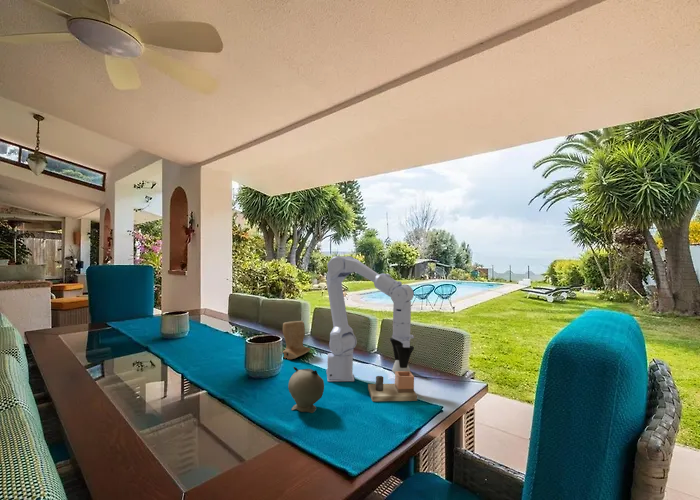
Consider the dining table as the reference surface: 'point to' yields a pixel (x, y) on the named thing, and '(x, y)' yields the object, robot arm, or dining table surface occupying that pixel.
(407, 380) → the sleeve
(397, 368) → the flask
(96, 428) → the dining table surface
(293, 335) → the tan wooden stand
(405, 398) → the pin board
